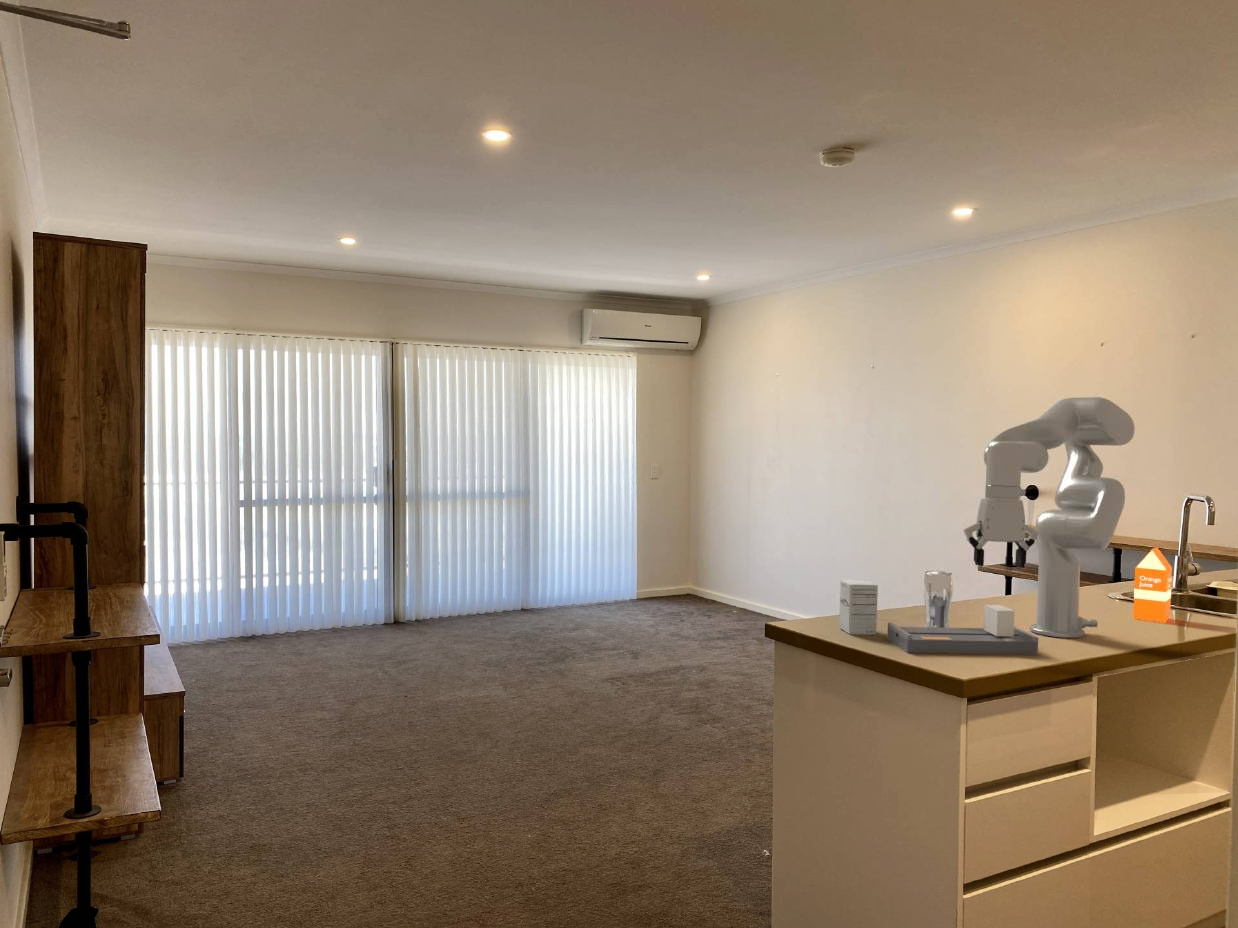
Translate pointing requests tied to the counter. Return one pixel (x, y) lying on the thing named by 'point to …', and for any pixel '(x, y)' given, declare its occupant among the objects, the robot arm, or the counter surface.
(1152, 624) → the counter surface
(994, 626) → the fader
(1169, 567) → the orange juice
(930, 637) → the fader board
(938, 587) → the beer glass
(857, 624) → the supplement box
